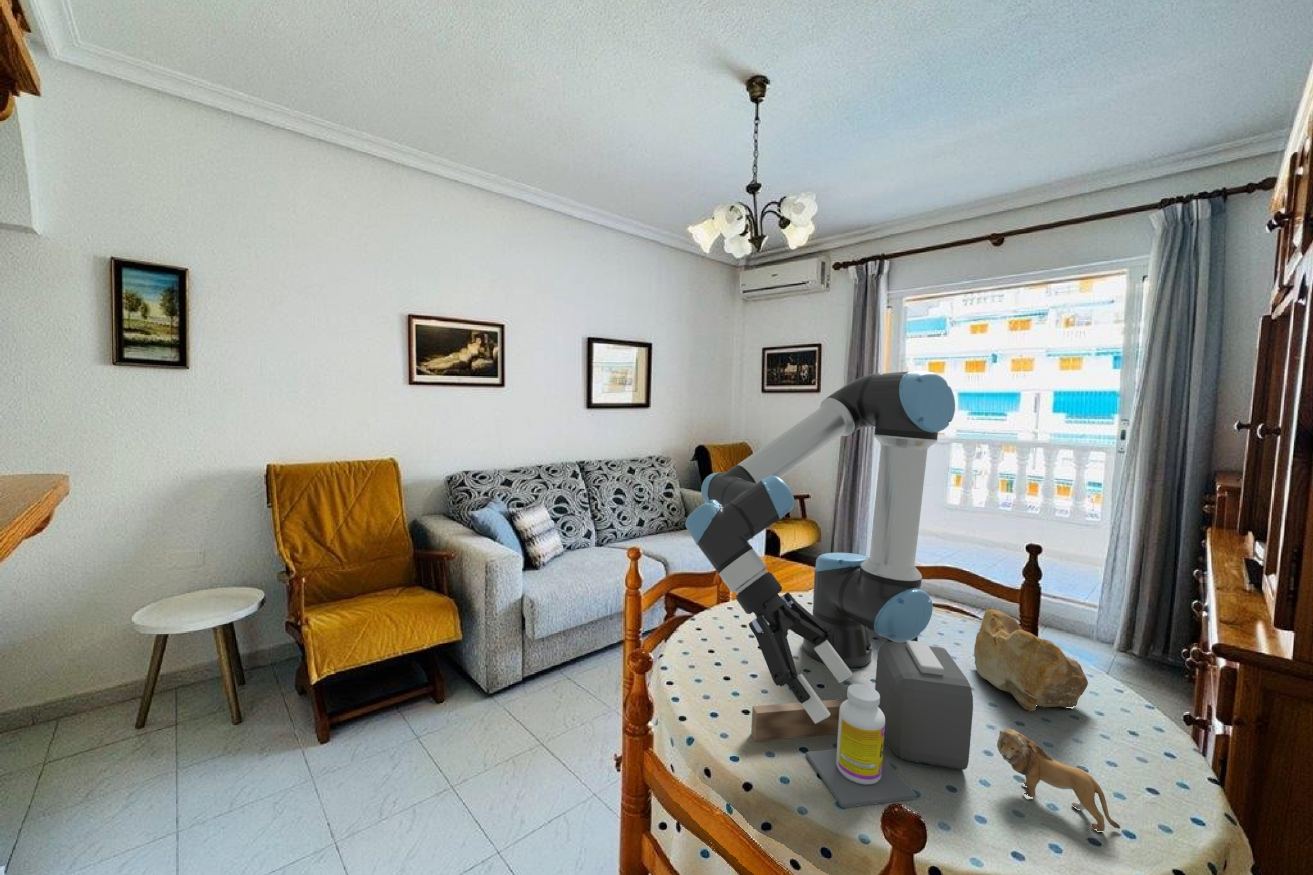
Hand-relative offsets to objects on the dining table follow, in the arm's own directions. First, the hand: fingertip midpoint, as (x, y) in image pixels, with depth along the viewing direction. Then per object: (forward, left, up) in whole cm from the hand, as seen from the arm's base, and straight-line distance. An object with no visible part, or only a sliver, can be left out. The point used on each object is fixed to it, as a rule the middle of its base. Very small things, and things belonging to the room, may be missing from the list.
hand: (835, 697), depth 81 cm
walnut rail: (0, -9, -12) cm, 14 cm away
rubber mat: (-3, +2, -12) cm, 12 cm away
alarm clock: (-18, -5, -12) cm, 22 cm away
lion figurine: (-28, +12, -12) cm, 33 cm away
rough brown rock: (-52, -14, -12) cm, 55 cm away
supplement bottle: (-3, +2, -11) cm, 12 cm away
